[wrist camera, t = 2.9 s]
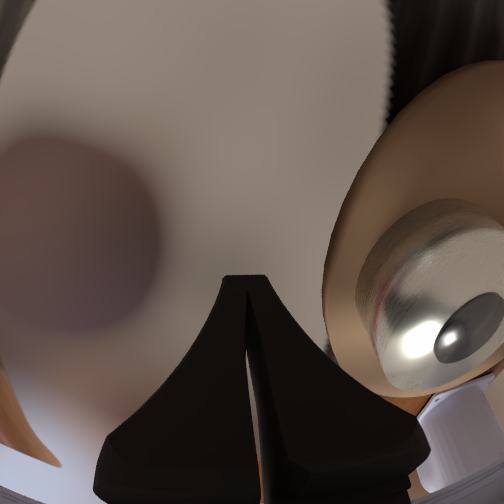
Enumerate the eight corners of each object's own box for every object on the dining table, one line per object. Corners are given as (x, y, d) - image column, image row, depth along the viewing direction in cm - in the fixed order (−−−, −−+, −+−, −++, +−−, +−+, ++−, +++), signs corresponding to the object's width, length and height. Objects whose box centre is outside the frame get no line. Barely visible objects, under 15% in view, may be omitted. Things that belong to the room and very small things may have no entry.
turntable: (515, 353, 19) (521, 363, 18) (295, 403, 17) (298, 420, 16) (602, 124, 9) (614, 130, 7) (348, -5, 7) (363, -13, 6)
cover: (458, 327, 14) (488, 374, 11) (339, 344, 13) (360, 408, 10) (508, 204, 10) (560, 244, 7) (375, 191, 10) (430, 244, 7)
